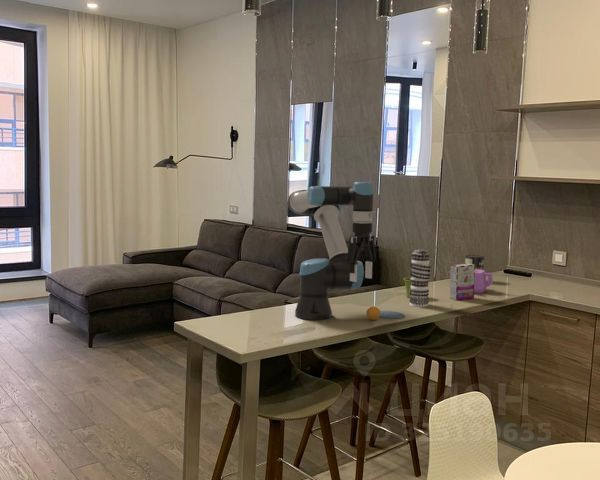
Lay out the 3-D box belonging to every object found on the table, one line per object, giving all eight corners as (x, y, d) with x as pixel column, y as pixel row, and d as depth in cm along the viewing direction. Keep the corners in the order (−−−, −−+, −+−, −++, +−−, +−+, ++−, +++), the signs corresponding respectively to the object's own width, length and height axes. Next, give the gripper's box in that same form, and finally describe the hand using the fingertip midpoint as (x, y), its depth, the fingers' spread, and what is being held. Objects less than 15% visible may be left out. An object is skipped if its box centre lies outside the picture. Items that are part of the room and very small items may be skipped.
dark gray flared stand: (485, 280, 343) (486, 255, 342) (479, 283, 335) (481, 257, 333) (467, 278, 349) (468, 254, 347) (461, 281, 340) (462, 256, 339)
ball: (363, 320, 246) (363, 306, 245) (371, 317, 250) (371, 304, 249) (375, 322, 242) (375, 308, 242) (382, 320, 246) (383, 306, 246)
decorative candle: (406, 302, 281) (407, 248, 278) (425, 302, 281) (427, 248, 279) (411, 307, 272) (413, 251, 269) (431, 306, 272) (434, 251, 270)
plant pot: (408, 299, 288) (408, 281, 287) (399, 295, 297) (400, 277, 296) (426, 298, 291) (426, 280, 290) (417, 294, 300) (417, 277, 299)
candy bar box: (466, 296, 297) (468, 263, 295) (474, 298, 292) (475, 264, 291) (449, 298, 292) (450, 264, 290) (456, 300, 287) (457, 266, 285)
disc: (367, 315, 254) (367, 314, 254) (384, 310, 264) (384, 309, 264) (394, 320, 246) (394, 319, 246) (410, 314, 256) (410, 314, 256)
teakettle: (494, 293, 308) (496, 268, 306) (465, 294, 302) (466, 270, 301) (475, 287, 324) (476, 264, 322) (447, 288, 318) (448, 265, 317)
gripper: (353, 224, 224) (352, 284, 226) (386, 221, 241) (384, 277, 243) (337, 223, 228) (335, 282, 231) (370, 220, 246) (368, 275, 248)
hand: (360, 279), depth 237 cm, fingers open, 10 cm apart
